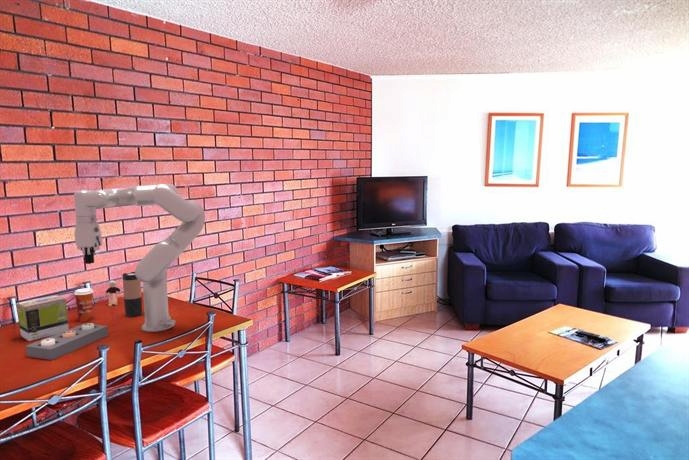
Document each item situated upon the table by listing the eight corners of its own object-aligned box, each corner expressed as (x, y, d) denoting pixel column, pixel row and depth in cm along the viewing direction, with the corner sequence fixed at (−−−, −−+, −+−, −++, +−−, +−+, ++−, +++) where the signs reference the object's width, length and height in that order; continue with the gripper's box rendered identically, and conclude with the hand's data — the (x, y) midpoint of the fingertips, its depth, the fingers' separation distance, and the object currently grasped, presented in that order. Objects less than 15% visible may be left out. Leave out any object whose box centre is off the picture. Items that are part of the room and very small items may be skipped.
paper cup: (81, 323, 205) (78, 293, 203) (73, 320, 210) (71, 290, 208) (99, 319, 211) (96, 289, 210) (91, 315, 216) (89, 286, 214)
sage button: (97, 333, 189) (96, 323, 189) (88, 336, 185) (87, 326, 184) (88, 332, 190) (87, 322, 190) (79, 335, 186) (78, 325, 186)
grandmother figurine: (107, 307, 230) (105, 282, 229) (104, 305, 233) (103, 281, 231) (123, 304, 235) (121, 279, 234) (120, 302, 238) (119, 278, 237)
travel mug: (138, 317, 213) (135, 275, 211) (121, 317, 214) (119, 275, 211) (145, 312, 221) (143, 271, 219) (129, 312, 221) (127, 271, 219)
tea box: (60, 327, 201) (57, 294, 199) (69, 331, 195) (66, 298, 193) (19, 336, 189) (16, 301, 187) (28, 342, 183) (24, 306, 181)
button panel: (108, 335, 190) (107, 326, 189) (51, 360, 165) (50, 349, 165) (85, 332, 193) (84, 323, 193) (26, 356, 169) (25, 345, 168)
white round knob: (58, 349, 172) (57, 338, 171) (48, 353, 168) (47, 342, 167) (49, 347, 173) (48, 337, 173) (38, 352, 169) (37, 341, 169)
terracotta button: (78, 340, 180) (77, 330, 180) (69, 344, 176) (68, 334, 176) (70, 339, 182) (69, 329, 181) (60, 343, 178) (59, 333, 177)
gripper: (107, 219, 192) (110, 262, 195) (79, 218, 197) (83, 260, 199) (93, 221, 185) (96, 266, 187) (64, 220, 189) (68, 264, 192)
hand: (89, 263), depth 193 cm, fingers closed
